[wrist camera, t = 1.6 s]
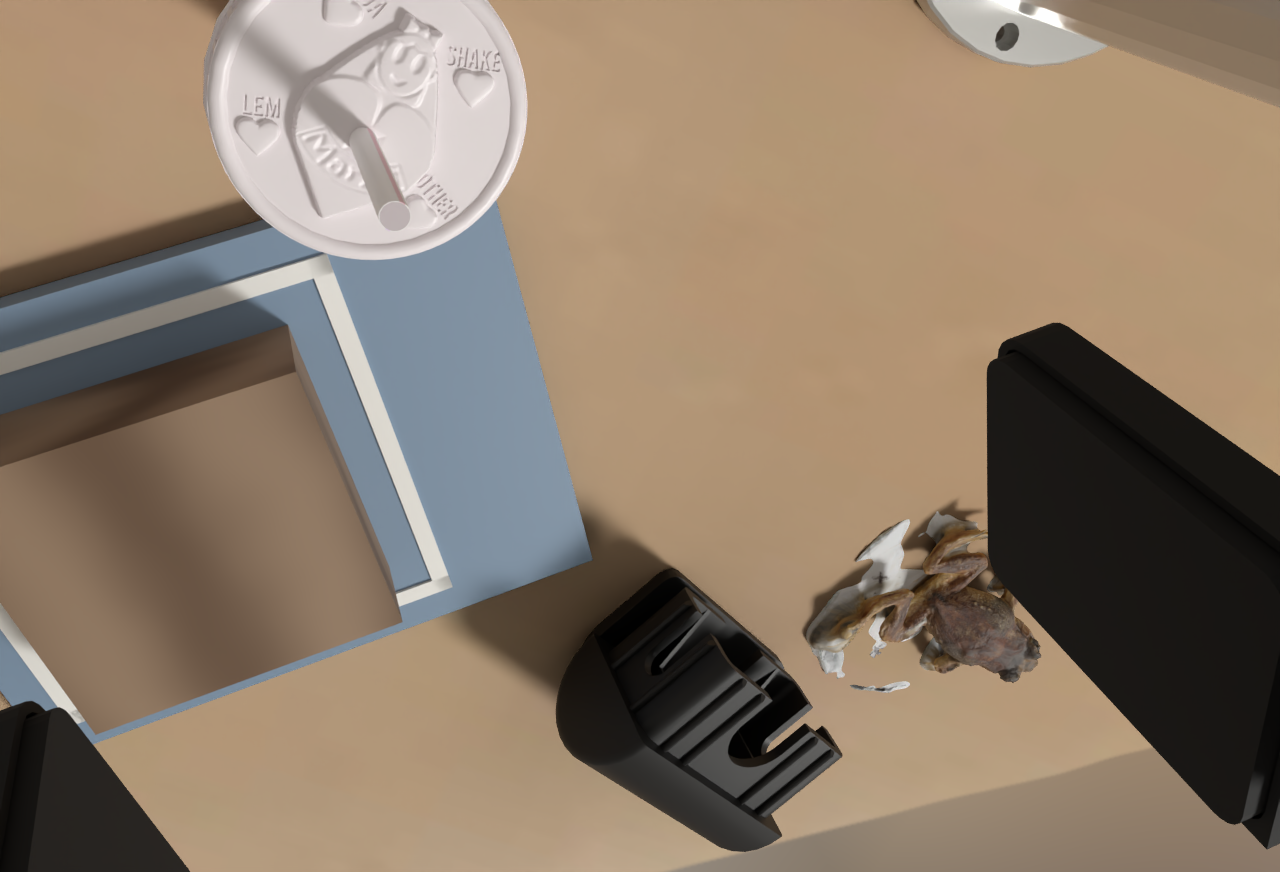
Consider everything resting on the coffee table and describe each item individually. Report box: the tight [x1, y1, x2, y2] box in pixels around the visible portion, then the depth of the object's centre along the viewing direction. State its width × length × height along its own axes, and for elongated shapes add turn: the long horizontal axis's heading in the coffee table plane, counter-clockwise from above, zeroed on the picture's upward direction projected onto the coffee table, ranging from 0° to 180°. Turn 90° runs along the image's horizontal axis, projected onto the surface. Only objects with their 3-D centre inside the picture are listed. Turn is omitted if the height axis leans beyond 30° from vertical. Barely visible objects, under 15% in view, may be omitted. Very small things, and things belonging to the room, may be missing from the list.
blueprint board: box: [0, 201, 593, 744], centre depth 36 cm, size 20×16×1 cm
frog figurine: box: [806, 511, 1041, 693], centre depth 50 cm, size 12×12×4 cm
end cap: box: [556, 569, 842, 852], centre depth 45 cm, size 10×7×7 cm
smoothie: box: [203, 0, 527, 260], centre depth 24 cm, size 6×6×14 cm
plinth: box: [0, 325, 403, 735], centre depth 34 cm, size 10×10×3 cm
